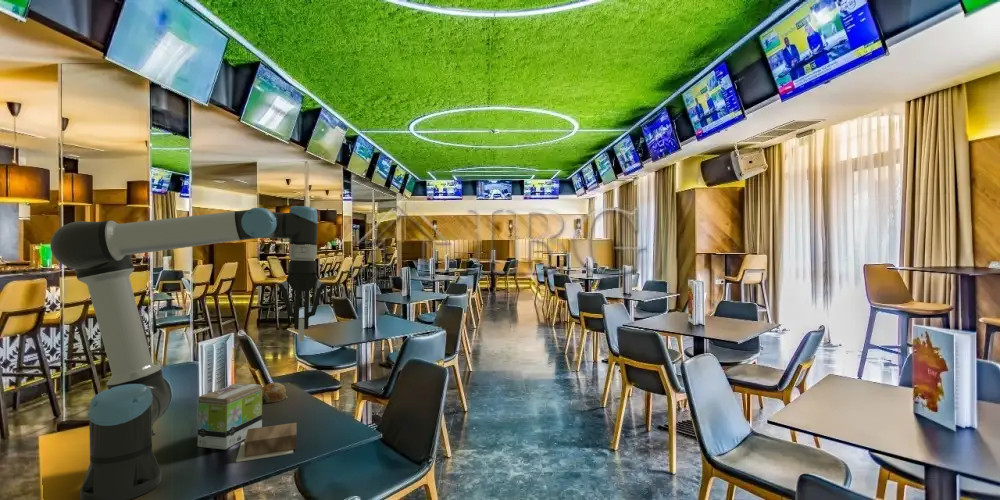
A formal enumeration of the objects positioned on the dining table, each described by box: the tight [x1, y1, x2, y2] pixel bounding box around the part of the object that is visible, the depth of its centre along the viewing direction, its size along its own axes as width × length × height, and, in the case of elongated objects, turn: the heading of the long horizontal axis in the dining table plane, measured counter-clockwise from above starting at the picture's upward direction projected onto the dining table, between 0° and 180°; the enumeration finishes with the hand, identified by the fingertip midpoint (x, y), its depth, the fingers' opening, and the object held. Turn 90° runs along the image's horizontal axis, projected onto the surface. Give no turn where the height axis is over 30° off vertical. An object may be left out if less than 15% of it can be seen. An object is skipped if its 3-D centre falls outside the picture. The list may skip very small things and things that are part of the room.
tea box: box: [197, 382, 263, 450], centre depth 144 cm, size 15×10×15 cm
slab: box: [243, 422, 298, 457], centre depth 137 cm, size 4×10×13 cm
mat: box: [235, 441, 294, 463], centre depth 137 cm, size 14×13×1 cm
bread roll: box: [262, 381, 288, 404], centre depth 181 cm, size 10×10×8 cm
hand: (301, 340), depth 140 cm, fingers closed
